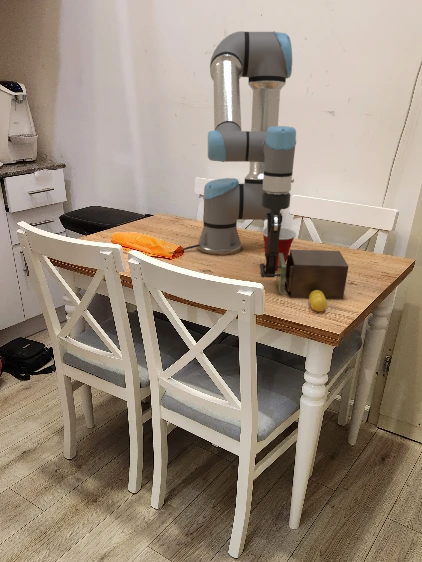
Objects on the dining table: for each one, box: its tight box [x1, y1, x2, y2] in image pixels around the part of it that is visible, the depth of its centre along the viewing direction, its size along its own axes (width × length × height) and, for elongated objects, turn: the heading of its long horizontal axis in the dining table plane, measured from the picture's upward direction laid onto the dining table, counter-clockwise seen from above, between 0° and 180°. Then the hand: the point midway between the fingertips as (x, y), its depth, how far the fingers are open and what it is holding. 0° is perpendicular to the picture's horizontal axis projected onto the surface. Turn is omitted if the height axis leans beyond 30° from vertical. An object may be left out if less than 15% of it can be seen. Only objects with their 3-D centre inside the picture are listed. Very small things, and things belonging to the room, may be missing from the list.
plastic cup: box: [261, 226, 297, 272], centre depth 154 cm, size 11×11×12 cm
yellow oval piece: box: [308, 290, 328, 313], centre depth 130 cm, size 4×8×4 cm, turn 177°
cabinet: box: [289, 249, 349, 300], centre depth 140 cm, size 15×14×10 cm
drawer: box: [259, 253, 294, 294], centre depth 140 cm, size 19×12×8 cm, turn 87°
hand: (269, 276), depth 141 cm, fingers closed
